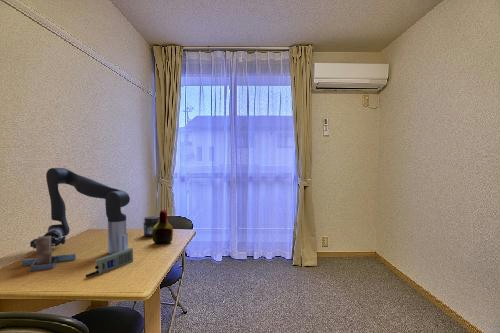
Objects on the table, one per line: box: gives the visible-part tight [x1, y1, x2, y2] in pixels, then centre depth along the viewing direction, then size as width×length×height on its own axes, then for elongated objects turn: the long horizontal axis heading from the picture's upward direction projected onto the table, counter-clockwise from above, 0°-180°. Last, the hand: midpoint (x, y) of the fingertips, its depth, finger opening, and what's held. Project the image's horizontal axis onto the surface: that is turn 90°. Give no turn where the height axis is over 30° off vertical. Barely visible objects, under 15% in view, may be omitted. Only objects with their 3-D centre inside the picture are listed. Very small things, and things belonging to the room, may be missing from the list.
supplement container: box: [143, 215, 159, 238], centre depth 200 cm, size 10×10×12 cm
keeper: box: [21, 253, 77, 272], centre depth 144 cm, size 22×12×2 cm, turn 113°
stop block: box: [35, 235, 53, 265], centre depth 142 cm, size 5×5×14 cm
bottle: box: [152, 209, 174, 245], centre depth 182 cm, size 12×6×20 cm, turn 98°
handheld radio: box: [85, 247, 134, 279], centre depth 139 cm, size 7×3×25 cm
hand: (45, 245), depth 144 cm, fingers open, 8 cm apart
